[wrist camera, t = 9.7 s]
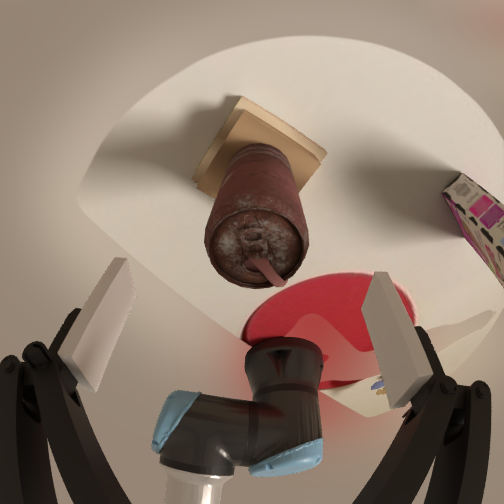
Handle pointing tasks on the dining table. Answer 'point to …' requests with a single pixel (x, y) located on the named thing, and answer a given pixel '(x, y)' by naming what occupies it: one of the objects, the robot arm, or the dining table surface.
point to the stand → (251, 132)
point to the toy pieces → (378, 385)
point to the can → (257, 220)
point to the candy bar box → (479, 221)
